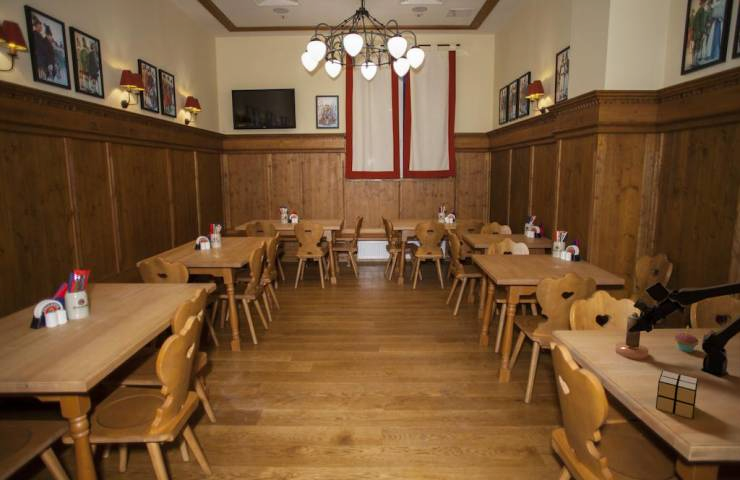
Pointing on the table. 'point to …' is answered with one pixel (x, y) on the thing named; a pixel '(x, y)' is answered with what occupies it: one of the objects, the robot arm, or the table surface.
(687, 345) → the cupcake
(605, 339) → the table surface
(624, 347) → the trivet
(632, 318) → the pepper mill
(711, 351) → the robot arm
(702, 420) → the table surface
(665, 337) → the table surface
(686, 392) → the puzzle cube
